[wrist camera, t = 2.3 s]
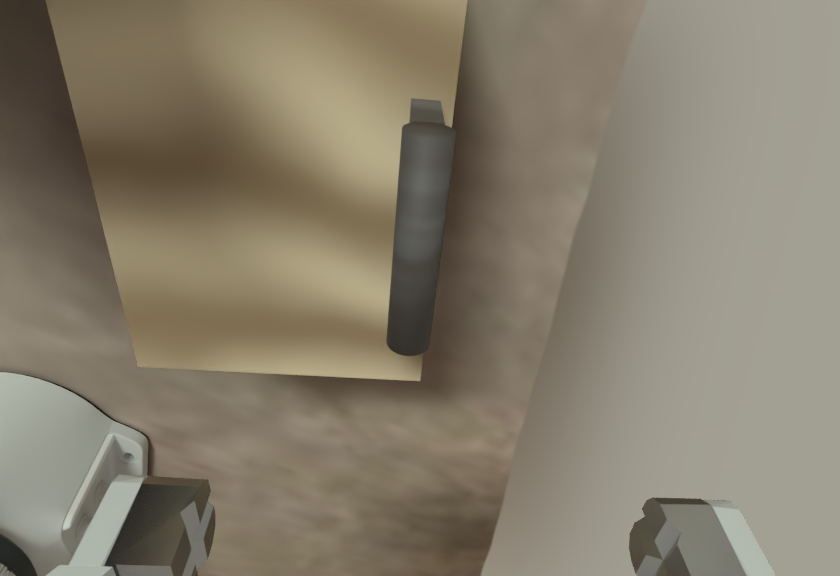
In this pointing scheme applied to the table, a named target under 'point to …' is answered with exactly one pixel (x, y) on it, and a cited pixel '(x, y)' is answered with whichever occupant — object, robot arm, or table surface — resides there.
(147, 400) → the table surface
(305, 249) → the carton lid
